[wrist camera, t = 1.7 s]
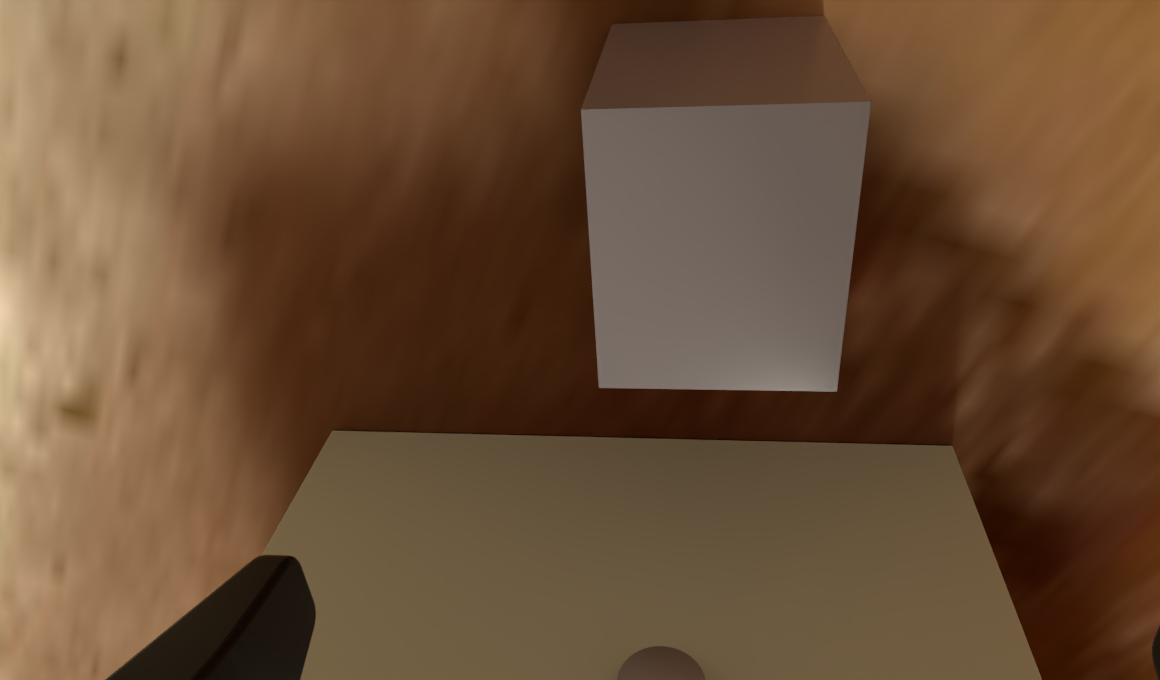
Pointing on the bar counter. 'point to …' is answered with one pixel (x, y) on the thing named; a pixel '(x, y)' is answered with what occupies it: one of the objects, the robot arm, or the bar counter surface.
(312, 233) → the bar counter surface
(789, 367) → the grey block
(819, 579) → the pale green open box
